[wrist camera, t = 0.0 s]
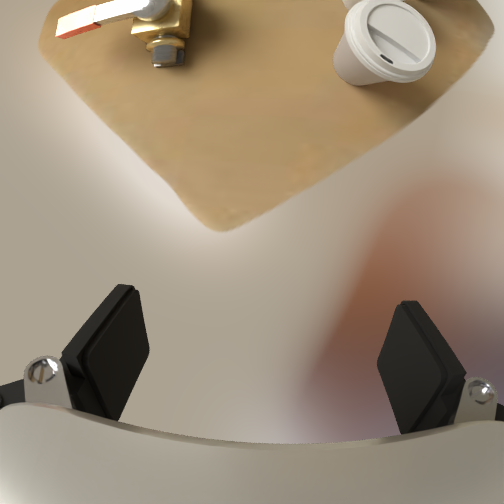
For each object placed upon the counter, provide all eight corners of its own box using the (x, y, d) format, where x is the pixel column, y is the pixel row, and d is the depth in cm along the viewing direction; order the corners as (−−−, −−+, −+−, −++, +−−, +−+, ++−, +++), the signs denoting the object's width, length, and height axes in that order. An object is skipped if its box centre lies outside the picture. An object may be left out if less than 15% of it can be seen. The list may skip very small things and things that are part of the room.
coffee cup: (306, 55, 32) (327, 14, 18) (356, 23, 29) (395, -21, 15) (353, 109, 34) (399, 98, 20) (399, 75, 31) (458, 55, 17)
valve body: (158, -6, 28) (137, -28, 20) (198, -11, 28) (183, -37, 20) (150, 68, 33) (124, 56, 25) (191, 64, 33) (172, 49, 25)
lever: (68, 17, 22) (60, 13, 20) (173, -11, 22) (168, -18, 20) (63, 44, 24) (54, 41, 22) (169, 18, 24) (163, 12, 22)
